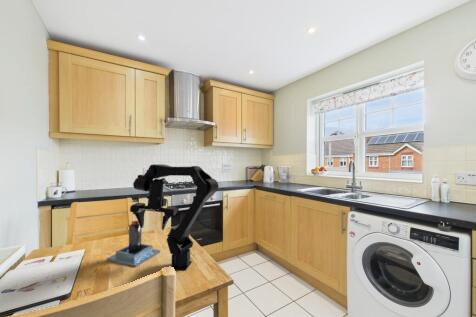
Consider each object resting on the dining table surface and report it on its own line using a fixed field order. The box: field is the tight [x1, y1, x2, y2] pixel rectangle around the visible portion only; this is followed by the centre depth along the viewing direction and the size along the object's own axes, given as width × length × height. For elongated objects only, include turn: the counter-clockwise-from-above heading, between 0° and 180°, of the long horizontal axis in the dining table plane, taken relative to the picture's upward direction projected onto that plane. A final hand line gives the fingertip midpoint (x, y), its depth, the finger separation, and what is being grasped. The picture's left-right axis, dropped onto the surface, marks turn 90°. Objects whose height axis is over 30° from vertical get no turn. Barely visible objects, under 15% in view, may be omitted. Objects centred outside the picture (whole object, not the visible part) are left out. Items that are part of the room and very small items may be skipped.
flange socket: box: [106, 243, 161, 268], centre depth 92 cm, size 16×14×4 cm
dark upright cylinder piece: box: [128, 220, 142, 254], centre depth 92 cm, size 6×6×14 cm
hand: (152, 228), depth 90 cm, fingers open, 9 cm apart
